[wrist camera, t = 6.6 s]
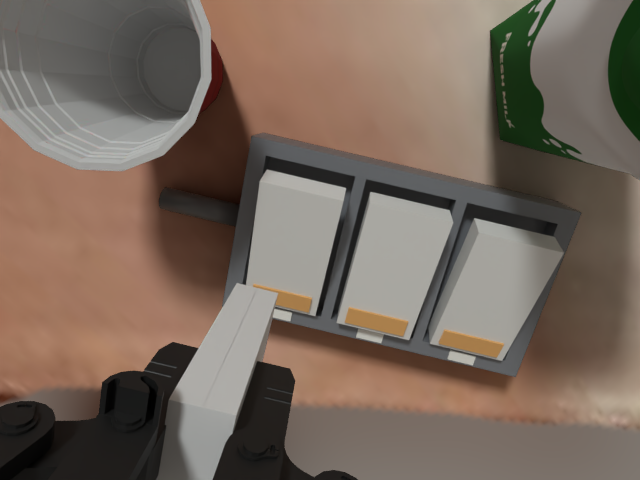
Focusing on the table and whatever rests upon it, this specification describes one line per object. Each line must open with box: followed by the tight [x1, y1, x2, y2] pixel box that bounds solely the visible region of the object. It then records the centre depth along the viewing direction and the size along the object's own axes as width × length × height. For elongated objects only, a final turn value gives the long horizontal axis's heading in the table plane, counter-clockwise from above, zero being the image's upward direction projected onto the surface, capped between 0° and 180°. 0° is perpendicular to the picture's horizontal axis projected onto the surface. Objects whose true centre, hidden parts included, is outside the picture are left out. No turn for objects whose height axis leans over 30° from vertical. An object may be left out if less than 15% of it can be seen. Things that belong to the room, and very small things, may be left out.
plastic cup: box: [0, 0, 223, 171], centre depth 26 cm, size 11×11×12 cm
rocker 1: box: [246, 170, 346, 316], centre depth 30 cm, size 5×9×2 cm, turn 168°
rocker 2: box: [337, 192, 453, 340], centre depth 30 cm, size 5×9×2 cm, turn 168°
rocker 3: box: [428, 218, 564, 361], centre depth 30 cm, size 5×9×2 cm, turn 168°
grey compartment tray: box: [159, 133, 581, 377], centre depth 32 cm, size 27×12×4 cm, turn 78°
